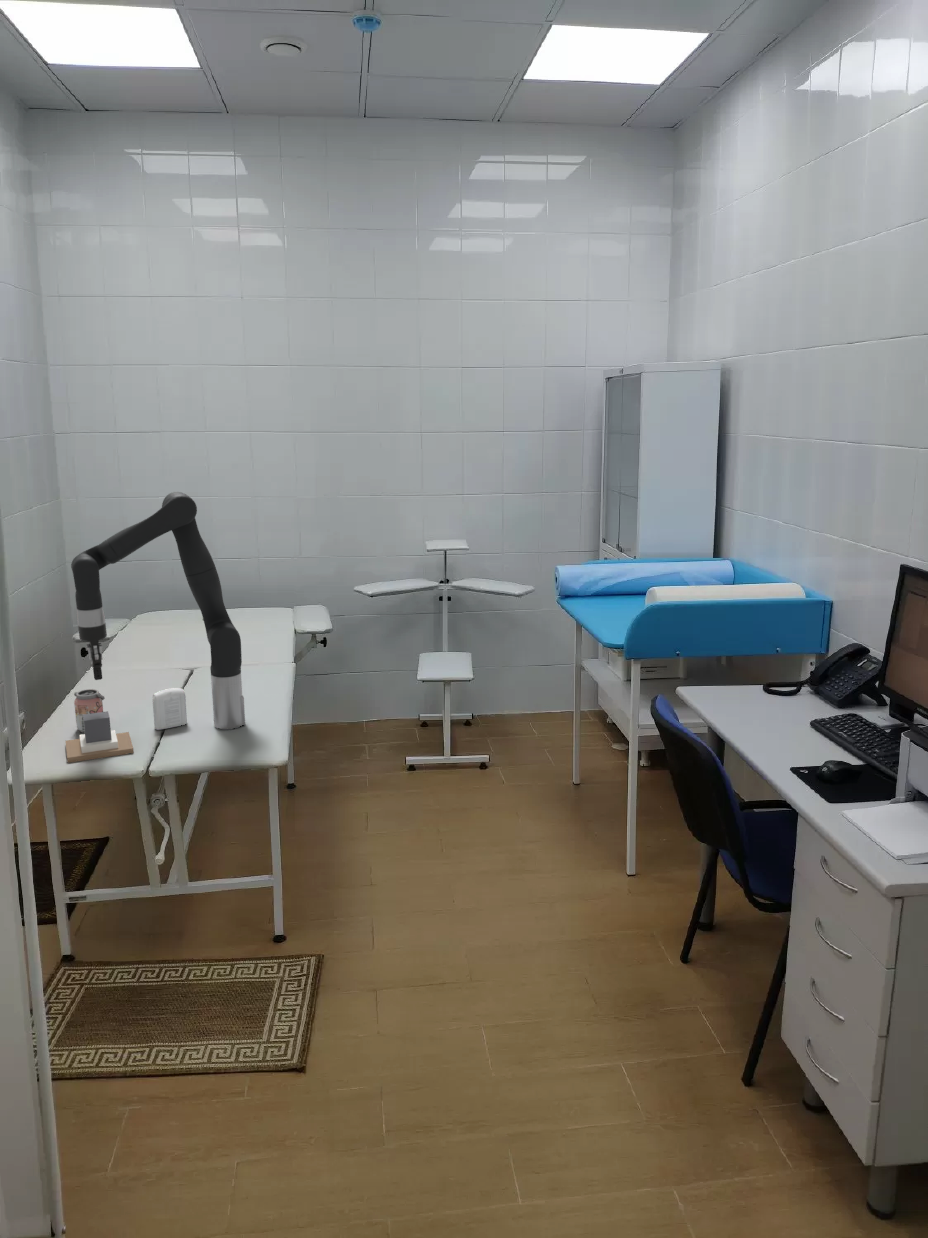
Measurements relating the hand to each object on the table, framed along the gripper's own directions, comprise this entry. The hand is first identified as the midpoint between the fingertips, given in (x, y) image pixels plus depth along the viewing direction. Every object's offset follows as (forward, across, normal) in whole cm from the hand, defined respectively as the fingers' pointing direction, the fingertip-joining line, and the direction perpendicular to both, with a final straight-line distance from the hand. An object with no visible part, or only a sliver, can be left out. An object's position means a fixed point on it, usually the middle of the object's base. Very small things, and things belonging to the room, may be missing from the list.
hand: (98, 678), depth 280 cm
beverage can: (+20, +14, +3) cm, 25 cm away
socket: (+20, -5, +2) cm, 21 cm away
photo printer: (+21, +6, -20) cm, 29 cm away
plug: (+18, -5, +2) cm, 19 cm away
